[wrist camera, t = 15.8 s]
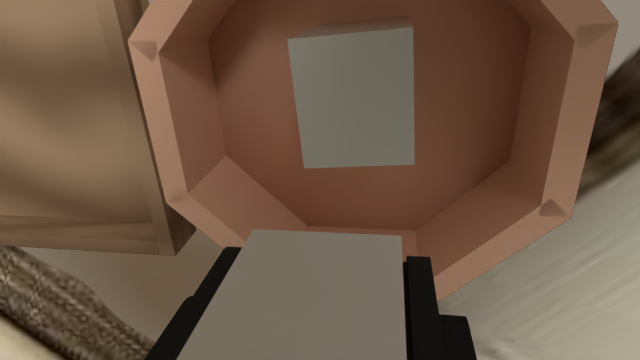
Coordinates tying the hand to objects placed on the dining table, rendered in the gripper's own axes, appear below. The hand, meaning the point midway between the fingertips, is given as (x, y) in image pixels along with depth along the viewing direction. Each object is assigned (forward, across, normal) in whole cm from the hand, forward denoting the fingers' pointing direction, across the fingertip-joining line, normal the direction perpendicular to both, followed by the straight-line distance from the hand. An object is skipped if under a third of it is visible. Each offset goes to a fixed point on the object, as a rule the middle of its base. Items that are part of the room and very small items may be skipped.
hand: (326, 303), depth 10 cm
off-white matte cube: (+9, 0, -4) cm, 10 cm away
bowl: (+10, 0, -3) cm, 10 cm away
